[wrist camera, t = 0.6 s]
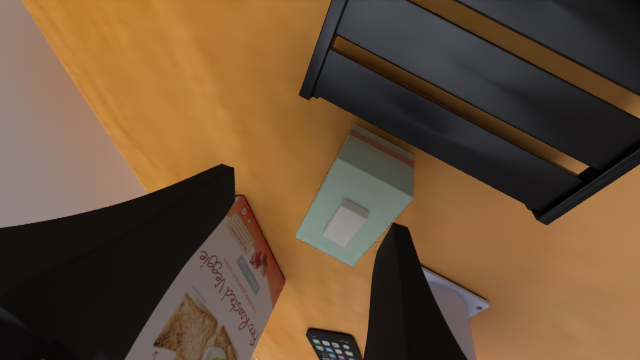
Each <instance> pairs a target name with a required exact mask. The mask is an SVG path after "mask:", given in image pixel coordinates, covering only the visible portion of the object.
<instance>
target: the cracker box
mask: <svg viewBox="0 0 640 360" xmlns="http://www.w3.org/2000/svg"><path fill="white" fill-rule="evenodd" d="M284 284H285V281H284V279H283V277H282V275H281V273H280V271H279V269H278V267H277V265H276V262H275V260H274V258H273V256H272V254H271V252H270V250H269V248H268V246H267V244H266V242H265V239H264V237H263V235H262V233H261V231H260V229H259V227H258V225H257V223H256V221H255V219H254V216H253V214H252V212H251V210H250V208H249V206H248V204H247V202H246V200H245V198H244V196H235V202H234V204H233V206H232V207H231V209H230V210H229V212H228V213H227V215H226V216H225V218H224V219H223V221H222V222H221V223H220V224H219V225H218V227H217V228H216V229H215V230H214V231H213V233H212V234H211V235H210V236H209V237H208V238H207V240H206V241H205V242H204V243H203V244H202V245H201V247H200V248H199V249H198V250H197V251H196V252H195V254H194V255H193V256H192V257H191V258H190V260H189V261H188V262H187V263H186V265H185V266H184V267H183V269H182V270H181V271H180V273H179V274H178V276H177V277H176V279H175V280H174V282H173V283H172V284H171V286H170V287H169V289H168V290H167V292H166V293H165V295H164V296H163V298H162V299H161V301H160V302H159V304H158V305H157V307H156V308H155V310H154V312H153V313H152V315H151V317H150V318H149V320H148V321H147V323H146V325H145V326H144V328H143V329H142V331H141V333H140V334H139V336H138V338H137V339H136V341H135V343H134V345H133V346H132V348H131V350H130V351H129V353H128V355H127V357H126V358H125V360H250V358H251V356H252V354H253V352H254V349H255V347H256V345H257V343H258V341H259V338H260V336H261V334H262V332H263V330H264V328H265V325H266V323H267V321H268V319H269V317H270V315H271V313H272V310H273V308H274V306H275V304H276V302H277V300H278V297H279V295H280V293H281V291H282V289H283V287H284Z"/></svg>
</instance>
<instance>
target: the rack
mask: <svg viewBox="0 0 640 360" xmlns="http://www.w3.org/2000/svg"><path fill="white" fill-rule="evenodd" d="M453 1H455V2H457V3H459V4H461V5H463V6H465V7H467V8H469V9H471V10H473V11H475V12H476V13H478V14H480V15H482V16H484V17H486V18H488V19H490V20H492V21H494V22H496V23H498V24H500V25H502V26H504V27H506V28H508V29H510V30H512V31H513V32H515V33H517V34H519V35H521V36H523V37H525V38H527V39H529V40H531V41H533V42H535V43H537V44H539V45H541V46H543V47H545V48H547V49H548V50H550V51H552V52H554V53H556V54H558V55H560V56H562V57H564V58H566V59H568V60H570V61H572V62H574V63H576V64H578V65H580V66H582V67H583V68H585V69H587V70H589V71H591V72H593V73H595V74H597V75H599V76H601V77H603V78H605V79H607V80H609V81H611V82H613V83H615V84H617V85H619V86H620V87H622V88H624V89H626V90H628V91H630V92H632V93H634V94H636V95H638V96H640V0H453ZM337 35H338V36H340V37H341V38H343V39H345V40H347V41H349V42H351V43H353V44H355V45H357V46H359V47H361V48H363V49H365V50H366V51H368V52H370V53H372V54H374V55H376V56H378V57H380V58H382V59H384V60H386V61H388V62H390V63H391V64H393V65H395V66H397V67H399V68H401V69H403V70H405V71H407V72H409V73H411V74H413V75H415V76H417V77H418V78H420V79H422V80H424V81H426V82H428V83H430V84H432V85H434V86H436V87H438V88H440V89H442V90H443V91H445V92H447V93H449V94H451V95H453V96H455V97H457V98H459V99H461V100H463V101H465V102H467V103H468V104H470V105H472V106H474V107H476V108H478V109H480V110H482V111H484V112H486V113H488V114H490V115H492V116H494V117H495V118H497V119H499V120H501V121H503V122H505V123H507V124H509V125H511V126H513V127H515V128H517V129H519V130H520V131H522V132H524V133H526V134H528V135H530V136H532V137H534V138H536V139H538V140H540V141H542V142H544V143H545V144H547V145H549V146H551V147H553V148H555V149H557V150H559V151H561V152H563V153H565V154H567V155H569V156H571V157H572V158H574V159H576V160H578V161H580V162H582V163H584V164H586V165H588V166H590V167H588V168H587V169H585V170H584V171H583V172H581V173H580V174H579V175H578V174H576V173H574V172H572V171H570V170H568V169H566V168H564V167H562V166H561V165H559V164H557V163H555V162H553V161H551V160H549V159H547V158H545V157H543V156H541V155H539V154H537V153H536V152H534V151H532V150H530V149H528V148H526V147H524V146H522V145H520V144H518V143H516V142H514V141H512V140H511V139H509V138H507V137H505V136H503V135H501V134H499V133H497V132H495V131H493V130H491V129H489V128H487V127H486V126H484V125H482V124H480V123H478V122H476V121H474V120H472V119H470V118H468V117H466V116H464V115H463V114H461V113H459V112H457V111H455V110H453V109H451V108H449V107H447V106H445V105H443V104H441V103H439V102H438V101H436V100H434V99H432V98H430V97H428V96H426V95H424V94H422V93H420V92H418V91H416V90H414V89H413V88H411V87H409V86H407V85H405V84H403V83H401V82H399V81H397V80H395V79H393V78H391V77H389V76H388V75H386V74H384V73H382V72H380V71H378V70H376V69H374V68H372V67H370V66H368V65H366V64H364V63H363V62H361V61H359V60H357V59H355V58H353V57H351V56H349V55H347V54H345V53H343V52H341V51H339V50H338V49H336V48H334V47H333V45H334V43H335V40H336V38H337ZM299 96H301V97H303V98H305V99H307V100H310V99H311V98H312V97H315V98H316V99H318V98H319V97H321V98H323V99H325V100H327V101H329V102H331V103H333V104H335V105H336V106H338V107H340V108H342V109H344V110H346V111H348V112H350V113H352V114H354V115H356V116H357V117H359V118H361V119H363V120H365V121H367V122H369V123H371V124H373V125H375V126H377V127H378V128H380V129H382V130H384V131H386V132H388V133H390V134H392V135H394V136H396V137H398V138H399V139H401V140H403V141H405V142H407V143H409V144H411V145H413V146H415V147H417V148H419V149H420V150H422V151H424V152H426V153H428V154H430V155H432V156H434V157H436V158H438V159H440V160H441V161H443V162H445V163H447V164H449V165H451V166H453V167H455V168H457V169H459V170H461V171H463V172H464V173H466V174H468V175H470V176H472V177H474V178H476V179H478V180H480V181H482V182H484V183H485V184H487V185H489V186H491V187H493V188H495V189H497V190H499V191H501V192H503V193H505V194H506V195H508V196H510V197H512V198H514V199H516V200H518V201H520V202H522V203H524V204H525V206H526V207H527V209H528V210H530V211H532V213H533V215H534V216H535V218H536V220H538V221H540V222H541V223H543V224H545V225H548V224H550V223H551V222H553V221H554V220H556V219H557V218H559V217H560V216H562V215H564V214H565V213H567V212H568V211H570V210H571V209H573V208H574V207H576V206H577V205H579V204H580V203H582V202H583V201H585V200H586V199H588V198H589V197H591V196H592V195H594V194H595V193H597V192H598V191H600V190H601V189H603V188H604V187H606V186H607V185H609V184H611V183H612V182H614V181H615V180H617V179H618V178H620V177H621V176H623V175H624V174H626V173H627V172H629V171H630V170H632V169H633V168H635V167H636V166H638V165H639V164H640V119H639V118H637V117H636V116H634V115H632V114H630V113H628V112H626V111H624V110H622V109H620V108H618V107H616V106H614V105H612V104H610V103H608V102H606V101H604V100H603V99H601V98H599V97H597V96H595V95H593V94H591V93H589V92H587V91H585V90H583V89H581V88H579V87H577V86H575V85H573V84H571V83H570V82H568V81H566V80H564V79H562V78H560V77H558V76H556V75H554V74H552V73H550V72H548V71H546V70H544V69H542V68H540V67H538V66H537V65H535V64H533V63H531V62H529V61H527V60H525V59H523V58H521V57H519V56H517V55H515V54H513V53H511V52H509V51H507V50H505V49H504V48H502V47H500V46H498V45H496V44H494V43H492V42H490V41H488V40H486V39H484V38H482V37H480V36H478V35H476V34H474V33H472V32H471V31H469V30H467V29H465V28H463V27H461V26H459V25H457V24H455V23H453V22H451V21H449V20H447V19H445V18H443V17H441V16H440V15H438V14H436V13H434V12H432V11H430V10H428V9H426V8H424V7H422V6H420V5H418V4H416V3H414V2H412V1H410V0H331V3H330V6H329V9H328V12H327V15H326V18H325V20H324V23H323V26H322V29H321V32H320V35H319V38H318V41H317V44H316V47H315V50H314V52H313V55H312V58H311V61H310V64H309V67H308V70H307V73H306V76H305V79H304V81H303V84H302V87H301V90H300V93H299Z"/></svg>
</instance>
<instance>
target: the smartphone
mask: <svg viewBox="0 0 640 360" xmlns="http://www.w3.org/2000/svg"><path fill="white" fill-rule="evenodd" d="M306 336H307V338H308V340H309V342H310V343H311V345H312V347H313V349H314V351H315V352H316V354H317V356H318V358H319V360H362V359H361V356H360V354H359V351H358V349H357V346H356V344H355V341H354V340H353V338H351V337H349V336H346V335H340V334H334V333H328V332H321V331H315V330H308V331H307V333H306Z"/></svg>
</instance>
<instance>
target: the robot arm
mask: <svg viewBox="0 0 640 360" xmlns="http://www.w3.org/2000/svg"><path fill="white" fill-rule="evenodd" d="M234 202H235V177H234V168H233V167H230V166H227V165H224V164H220V165H218V166H215V167H213V168H210V169H208V170H206V171H204V172H201V173H199V174H197V175H194V176H192V177H190V178H187V179H185V180H183V181H180V182H178V183H176V184H173V185H171V186H168V187H165V188H163V189H160V190H158V191H155V192H152V193H150V194H147V195H144V196H141V197H138V198H135V199H132V200H129V201H126V202H122V203H119V204H116V205H113V206H109V207H105V208H101V209H97V210H93V211H89V212H85V213H81V214H77V215H72V216H67V217H62V218H57V219H52V220H47V221H42V222H36V223H30V224H24V225H18V226H11V227H4V228H0V360H125V358H126V357H127V355H128V353H129V351H130V350H131V348H132V346H133V345H134V343H135V341H136V339H137V338H138V336H139V334H140V333H141V331H142V329H143V328H144V326H145V325H146V323H147V321H148V320H149V318H150V317H151V315H152V313H153V312H154V310H155V308H156V307H157V305H158V304H159V302H160V301H161V299H162V298H163V296H164V295H165V293H166V292H167V290H168V289H169V287H170V286H171V284H172V283H173V282H174V280H175V279H176V277H177V276H178V274H179V273H180V271H181V270H182V269H183V267H184V266H185V265H186V263H187V262H188V261H189V260H190V258H191V257H192V256H193V255H194V254H195V252H196V251H197V250H198V249H199V248H200V247H201V245H202V244H203V243H204V242H205V241H206V240H207V238H208V237H209V236H210V235H211V234H212V233H213V231H214V230H215V229H216V228H217V227H218V225H219V224H220V223H221V222H222V221H223V219H224V218H225V216H226V215H227V213H228V212H229V210H230V209H231V207H232V206H233V204H234ZM488 307H489V304H488V302H487V301H486V300H484V299H482V298H480V297H478V296H477V295H475V294H473V293H471V292H469V291H467V290H465V289H463V288H461V287H460V286H458V285H456V284H454V283H452V282H450V281H448V280H446V279H445V278H443V277H441V276H439V275H437V274H435V273H433V272H431V271H429V270H428V269H426V268H424V267H422V266H421V264H420V261H419V258H418V256H417V253H416V250H415V247H414V244H413V241H412V238H411V235H410V231H409V229H408V227H405V226H402V225H399V224H396V223H393V224H392V225H391V227H390V229H389V231H388V233H387V234H386V236H385V238H384V240H383V242H382V243H381V245H380V247H379V249H378V251H377V254H376V259H375V263H374V269H373V274H372V285H371V297H370V310H369V323H368V333H367V341H366V347H365V352H364V358H363V360H477V359H476V353H475V348H474V342H473V337H472V331H471V325H470V320H469V318H470V317H472V316H474V315H475V314H477V313H479V312H481V311H483V310H485V309H487V308H488Z"/></svg>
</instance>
